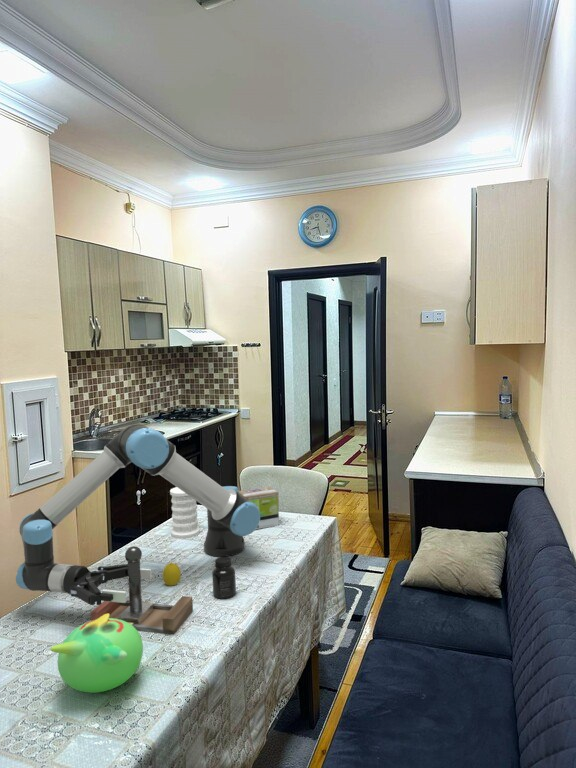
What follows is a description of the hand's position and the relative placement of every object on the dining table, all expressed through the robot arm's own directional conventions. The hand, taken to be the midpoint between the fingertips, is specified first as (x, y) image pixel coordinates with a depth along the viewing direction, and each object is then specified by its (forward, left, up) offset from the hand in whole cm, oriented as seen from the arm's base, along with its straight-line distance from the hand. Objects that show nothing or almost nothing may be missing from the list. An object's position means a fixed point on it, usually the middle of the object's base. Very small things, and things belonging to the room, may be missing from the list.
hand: (138, 585), depth 140 cm
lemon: (-17, -12, -11) cm, 24 cm away
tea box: (-72, -35, -11) cm, 81 cm away
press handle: (+1, -1, -9) cm, 9 cm away
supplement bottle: (-24, +6, -11) cm, 27 cm away
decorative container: (-46, -50, -11) cm, 69 cm away
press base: (-1, +1, -11) cm, 11 cm away
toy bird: (+19, +18, -11) cm, 28 cm away
